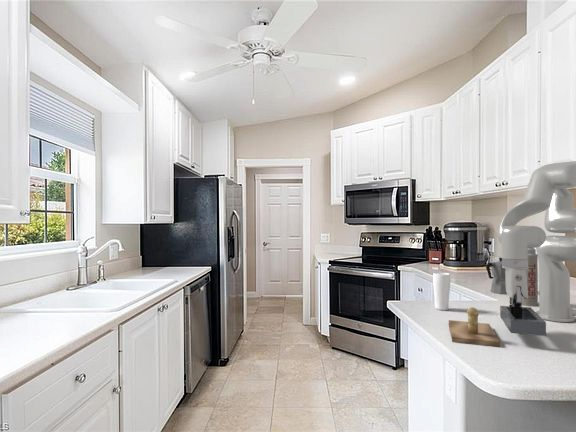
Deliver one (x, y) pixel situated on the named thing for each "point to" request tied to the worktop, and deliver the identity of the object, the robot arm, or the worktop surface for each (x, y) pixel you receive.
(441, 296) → the drinking glass
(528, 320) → the shallow gray crate
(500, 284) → the coffeepot
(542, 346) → the worktop surface
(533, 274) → the thermos bottle
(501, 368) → the worktop surface
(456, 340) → the board
